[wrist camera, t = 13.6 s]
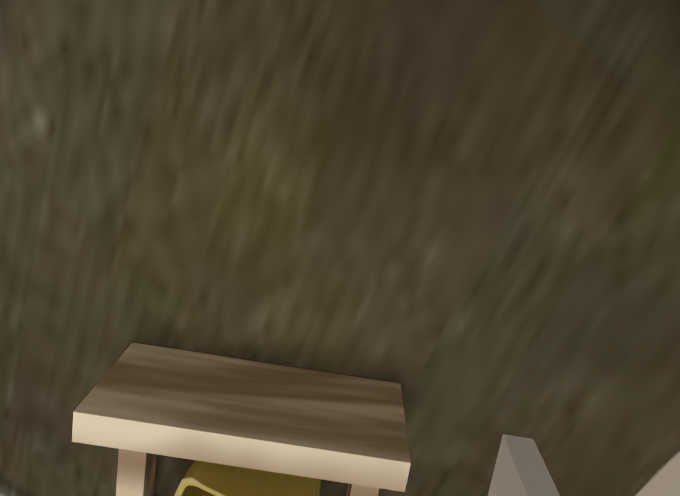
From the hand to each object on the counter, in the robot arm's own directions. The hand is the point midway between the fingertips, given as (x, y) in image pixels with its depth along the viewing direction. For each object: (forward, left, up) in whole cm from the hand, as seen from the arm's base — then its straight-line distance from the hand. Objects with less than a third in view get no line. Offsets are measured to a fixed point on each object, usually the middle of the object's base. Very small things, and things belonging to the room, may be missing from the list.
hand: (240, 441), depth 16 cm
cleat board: (+19, -2, -29) cm, 35 cm away
